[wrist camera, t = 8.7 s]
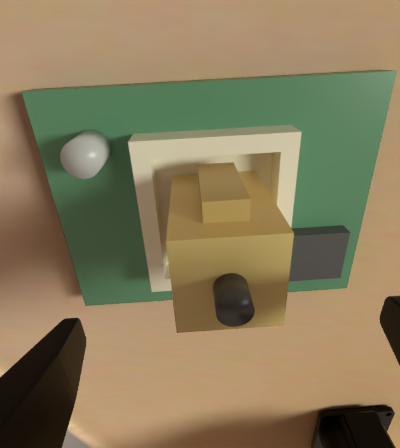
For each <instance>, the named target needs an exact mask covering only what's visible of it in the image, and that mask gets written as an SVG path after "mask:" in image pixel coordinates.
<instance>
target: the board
mask: <svg viewBox="0 0 400 448" xmlns="http://www.w3.org/2000/svg"><path fill="white" fill-rule="evenodd" d="M396 72H397V71H392V70H368V71H350V72H332V73H314V74H296V75H278V76H260V77H242V78H224V79H206V80H188V81H170V82H152V83H134V84H116V85H98V86H80V87H62V88H44V89H32V90H27V91H22V96H23V99H24V102H25V106H26V109H27V112H28V116H29V119H30V122H31V126H32V129H33V132H34V136H35V139H36V142H37V146H38V149H39V152H40V156H41V159H42V162H43V166H44V169H45V172H46V176H47V179H48V182H49V186H50V189H51V192H52V196H53V199H54V202H55V206H56V209H57V212H58V216H59V219H60V222H61V226H62V229H63V232H64V236H65V239H66V242H67V246H68V249H69V252H70V256H71V259H72V262H73V266H74V269H75V272H76V276H77V279H78V282H79V286H80V289H81V292H82V296H83V299H84V302H85V306H90V305H105V304H119V303H134V302H149V301H164V300H173V296H172V288H171V279H170V271H169V262H168V254H167V245H166V236H167V226H168V216H169V206H170V196H171V186H172V176H176V175H193V174H198V168H197V164H213V163H230V162H234V164H235V167H236V169H237V171H238V172H242V171H256V173H257V174H258V176H259V177H260V179H261V181H262V182H263V184H264V186H265V187H266V189H267V190H268V192H269V194H270V195H271V197H272V198H273V200H274V202H275V203H276V205H277V206H278V208H279V210H280V211H281V213H282V214H283V216H284V218H285V219H286V221H287V222H288V224H289V226H290V227H291V229H292V230H293V232H294V238H293V247H292V256H291V265H290V274H289V283H288V291H287V292H297V291H312V290H327V289H342V288H347V285H348V280H349V276H350V271H351V267H352V263H353V258H354V254H355V250H356V245H357V241H358V237H359V232H360V228H361V224H362V219H363V215H364V211H365V206H366V202H367V198H368V193H369V189H370V185H371V180H372V176H373V172H374V167H375V163H376V159H377V154H378V150H379V146H380V141H381V137H382V133H383V128H384V124H385V120H386V115H387V111H388V107H389V102H390V98H391V94H392V89H393V85H394V81H395V76H396Z"/></svg>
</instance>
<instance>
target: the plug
mask: <svg viewBox="0 0 400 448" xmlns="http://www.w3.org/2000/svg"><path fill="white" fill-rule="evenodd" d="M197 168H198V174H193V175H176V176H172V186H171V196H170V206H169V216H168V226H167V236H166V245H167V254H168V262H169V271H170V279H171V288H172V296H173V305H174V313H175V322H176V330H177V333H180V332H195V331H209V330H224V329H238V328H253V327H267V326H282V325H284V318H285V309H286V300H287V291H288V283H289V274H290V265H291V256H292V247H293V238H294V232H293V230H292V229H291V227H290V226H289V224H288V222H287V221H286V219H285V218H284V216H283V214H282V213H281V211H280V210H279V208H278V206H277V205H276V203H275V202H274V200H273V198H272V197H271V195H270V194H269V192H268V190H267V189H266V187H265V186H264V184H263V182H262V181H261V179H260V177H259V176H258V174H257V173H256V171H242V172H238V171H237V169H236V167H235V164H234V162H230V163H213V164H197Z"/></svg>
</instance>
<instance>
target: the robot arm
mask: <svg viewBox="0 0 400 448" xmlns="http://www.w3.org/2000/svg"><path fill="white" fill-rule="evenodd" d="M380 323H381V326H382V328H383V331H384V333H385V335H386V337H387V339H388V341H389V343H390V346H391V348H392V350H393V352H394V354H395V356H396V359H397V361H398V363H399V365H400V296H389V297H387V298H386V299H385V302H384V305H383V308H382V311H381V314H380ZM85 348H86V336H85V333H84V330H83V327H82V324H81V321H80V319H79V318H67V319H64V320H62V321H61V322H60V323H59V324H58V325H57V326H56V327H54V328H53V329H52V330H51V331H50V332H49V333H48V334H47V335H46V336H45V337H44V338H43V339H41V340H40V341H39V342H38V343H37V344H36V345H35V346H34V347H33V348H32V349H31V350H30V351H28V352H27V353H26V354H25V355H24V356H23V357H22V358H21V359H20V360H19V361H18V362H17V363H15V364H14V365H13V366H12V367H11V368H10V369H9V370H8V371H7V372H6V373H5V374H4V375H2V376H1V377H0V448H62V445H63V442H64V438H65V435H66V431H67V428H68V425H69V421H70V418H71V415H72V411H73V408H74V404H75V400H76V396H77V391H78V386H79V381H80V375H81V370H82V364H83V359H84V354H85ZM394 414H395V413H394V411H393V409H392V408H391V407H375V408H361V409H348V410H334V411H324V412H321V413H320V414H319V416H318V420H317V425H316V429H315V433H314V438H313V442H312V446H311V448H395V446H394V444H393V442H392V440H391V438H390V436H389V435H388V433H387V430H388V428H389V426H390V423H391V421H392V419H393V416H394Z"/></svg>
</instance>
